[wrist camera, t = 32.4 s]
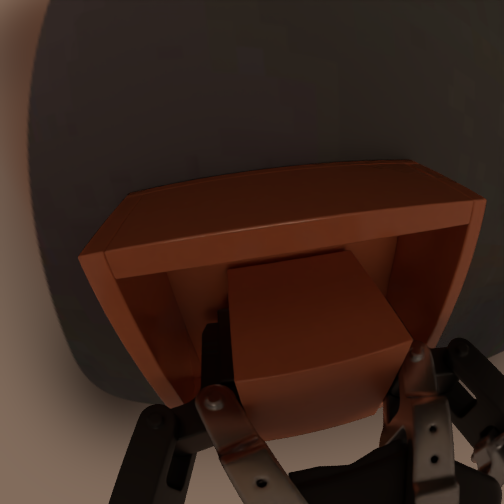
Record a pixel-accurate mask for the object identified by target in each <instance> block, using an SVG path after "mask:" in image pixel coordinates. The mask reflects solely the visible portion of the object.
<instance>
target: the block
mask: <svg viewBox="0 0 504 504" xmlns="http://www.w3.org/2000/svg"><path fill="white" fill-rule="evenodd" d="M227 287H228V303H229V318H230V332H231V345H232V358H233V370H234V381H235V385H236V388H237V391H238V394H239V397H240V400H241V403H242V406H243V409H244V412H245V413H246V415H247V417H248V418H249V420H250V422H251V423H252V425H253V427H254V428H255V430H256V431H257V433H258V435H259V436H260V437H261V438H262V439H263V440H264V441H270V440H275V439H282V438H288V437H293V436H298V435H303V434H307V433H311V432H316V431H320V430H324V429H328V428H332V427H336V426H339V425H343V424H346V423H349V422H352V421H356V420H359V419H362V418H365V417H368V416H371V415H374V414H375V413H376V411H377V409H378V408H379V406H380V405H381V403H382V401H383V399H384V398H385V396H386V394H387V392H388V390H389V389H390V387H391V385H392V383H393V381H394V379H395V377H396V375H397V373H398V371H399V369H400V367H401V365H402V363H403V361H404V359H405V357H406V355H407V353H408V351H409V348H410V346H411V344H412V342H413V339H412V337H411V336H410V334H409V333H408V331H407V330H406V328H405V326H404V325H403V323H402V322H401V320H400V319H399V317H398V316H397V314H396V313H395V311H394V310H393V309H392V307H391V306H390V304H389V303H388V301H387V300H386V298H385V297H384V295H383V294H382V293H381V291H380V290H379V288H378V287H377V286H376V284H375V283H374V281H373V280H372V279H371V277H370V276H369V275H368V273H367V272H366V270H365V269H364V268H363V266H362V265H361V264H360V262H359V261H358V260H357V258H356V257H355V256H354V255H353V253H352V252H351V251H350V250H349V251H343V252H337V253H331V254H324V255H318V256H312V257H306V258H300V259H294V260H287V261H281V262H275V263H268V264H262V265H255V266H249V267H242V268H236V269H229V270H227Z"/></svg>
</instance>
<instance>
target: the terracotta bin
mask: <svg viewBox="0 0 504 504" xmlns="http://www.w3.org/2000/svg"><path fill="white" fill-rule="evenodd" d="M486 202H487V201H486V199H485V198H483V197H482V196H480V195H478V194H477V193H475V192H473V191H472V190H470V189H468V188H466V187H464V186H463V185H461V184H459V183H457V182H455V181H453V180H451V179H449V178H448V177H446V176H444V175H442V174H440V173H438V172H436V171H433V170H431V169H429V168H427V167H425V166H423V165H421V164H418V163H417V162H414V161H412V160H373V161H350V162H334V163H320V164H308V165H298V166H288V167H278V168H270V169H262V170H254V171H246V172H239V173H233V174H226V175H220V176H213V177H207V178H202V179H196V180H190V181H185V182H180V183H174V184H169V185H164V186H160V187H155V188H150V189H146V190H141V191H137V192H132V193H129V194H128V195H127V196H126V197H125V199H123V201H122V202H121V203H120V204H119V205H118V206H117V208H116V209H115V210H114V211H113V212H112V213H111V215H110V216H109V217H108V218H107V219H106V221H105V222H104V223H103V224H102V226H101V227H100V228H99V229H98V231H97V232H96V233H95V234H94V236H93V237H92V238H91V240H90V241H89V242H88V244H87V245H86V246H85V248H84V249H83V250H82V252H81V253H80V254H79V256H78V259H79V262H80V264H81V266H82V268H83V270H84V273H85V275H86V277H87V279H88V281H89V283H90V285H91V287H92V289H93V291H94V293H95V295H96V297H97V299H98V301H99V303H100V305H101V307H102V308H103V310H104V312H105V314H106V316H107V317H108V319H109V321H110V323H111V325H112V326H113V328H114V330H115V331H116V333H117V335H118V336H119V338H120V340H121V341H122V343H123V345H124V346H125V348H126V349H127V351H128V353H129V354H130V356H131V357H132V359H133V360H134V362H135V363H136V365H137V366H138V368H139V369H140V371H141V372H142V374H143V375H144V376H145V378H146V379H147V381H148V382H149V383H150V385H151V386H152V388H153V389H154V390H155V392H156V393H157V394H158V396H159V397H160V398H161V400H162V401H163V402H164V403H165V405H166V406H167V407H169V408H170V409H171V408H174V407H177V406H180V405H183V404H186V403H188V402H190V401H191V400H193V399H194V398H195V397H196V396H197V394H198V393H199V391H200V388H201V354H202V352H201V350H202V332H203V330H204V328H205V327H206V325H207V324H208V323H216V322H218V315H217V311H218V310H220V309H227V308H229V303H228V287H227V270H229V269H236V268H242V267H249V266H255V265H262V264H268V263H275V262H281V261H287V260H294V259H300V258H306V257H312V256H318V255H324V254H331V253H337V252H343V251H349V250H350V251H351V252H352V253H353V255H354V256H355V257H356V258H357V260H358V261H359V262H360V264H361V265H362V266H363V268H364V269H365V270H366V272H367V273H368V275H369V276H370V277H371V279H372V280H373V281H374V283H375V284H376V286H377V287H378V288H379V290H380V291H381V293H382V294H383V295H384V297H385V298H386V299H387V300H388V301H389V303H390V304H391V306H392V307H393V309H394V310H395V311H396V313H397V316H399V317H400V319H401V320H402V322H403V323H404V325H405V326H406V328H407V329H408V331H409V332H410V334H411V336H412V337H413V339H414V340H417V341H421V342H423V343H425V344H426V345H427V346H428V347H429V348H435V347H436V345H437V343H438V341H439V339H440V337H441V335H442V333H443V331H444V329H445V326H446V324H447V322H448V320H449V318H450V316H451V313H452V311H453V309H454V306H455V304H456V302H457V299H458V297H459V294H460V292H461V289H462V286H463V284H464V281H465V278H466V275H467V272H468V270H469V267H470V264H471V260H472V257H473V254H474V251H475V247H476V244H477V240H478V237H479V233H480V229H481V225H482V221H483V216H484V212H485V207H486ZM381 407H383V401H382V403H381V405H380V406H379V408H381Z"/></svg>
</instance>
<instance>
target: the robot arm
mask: <svg viewBox="0 0 504 504" xmlns="http://www.w3.org/2000/svg"><path fill="white" fill-rule="evenodd" d="M386 300H387V299H386ZM387 301H388V300H387ZM388 303H389V301H388ZM389 304H390V303H389ZM390 306H391V304H390ZM391 307H392V306H391ZM392 309H393V307H392ZM393 310H394V309H393ZM394 311H395V310H394ZM395 313H396V311H395ZM396 314H397V313H396ZM217 315H218V322H216V323H208V324H207V325H206V327H205V328H204V330H203V332H202V350H201V352H202V354H201V388H200V391H199V393H198V394H197V396H196V397H195V398H194V399H193V400H191V401H190V402H188V403H186V404H183V405H180V406H177V407H174V408H171V409H170V408H169V407H167V406H165V405H161V404H155V405H151V406H149V407H147V408H146V409H144V410H143V411H142V413H141V414H140V417H139V419H138V421H137V424H136V427H135V430H134V432H133V435H132V437H131V440H130V443H129V446H128V448H127V451H126V454H125V457H124V460H123V463H122V465H121V468H120V471H119V474H118V477H117V480H116V483H115V486H114V489H113V492H112V495H111V498H110V501H109V504H184V502H185V498H186V494H187V490H188V486H189V481H190V478H191V474H192V470H193V466H194V462H195V458H196V454H197V452H198V451H201V450H204V449H207V448H210V447H212V446H214V447H215V449H216V451H217V453H218V456H219V460H220V462H221V464H222V466H223V468H224V470H225V472H226V473H227V475H228V477H229V479H230V481H231V483H232V484H233V486H234V488H235V490H236V491H237V493H238V495H239V497H240V498H241V500H242V502H243V503H244V504H501V500H502V490H501V487H502V485H503V484H504V375H503V374H502V373H501V372H500V371H499V370H498V369H497V368H496V367H495V366H494V365H493V364H492V363H491V362H490V361H489V360H488V359H487V358H486V357H485V356H484V355H483V354H482V353H481V352H480V351H479V350H478V349H477V348H476V347H475V346H473V345H472V344H471V343H470V342H469V341H468V340H466V339H463V338H455V339H453V340H451V342H450V343H449V345H448V347H444V348H429V347H428V346H427V345H426V344H425V343H423V342H421V341H417V340H414V339H413V337H412V336H411V334H410V332H409V331H408V329H407V328H406V326H405V325H404V323H403V322H402V320H401V319H400V317H399V316H398V317H399V319H400V320H401V322H402V323H403V325H404V326H405V328H406V330H407V331H408V333H409V334H410V336H411V337H412V339H413V342H412V344H411V346H410V348H409V351H408V353H407V355H406V357H405V359H404V361H403V363H402V365H401V367H400V369H399V371H398V373H397V375H396V377H395V379H394V381H393V383H392V385H391V387H390V389H389V390H388V392H387V394H386V396H385V398H384V399H383V430H382V433H381V437H380V442H379V448H377V449H375V450H373V451H372V452H370V453H369V454H367V455H365V456H364V457H362V458H361V459H359V460H357V461H356V462H354V463H352V464H350V465H340V466H319V467H314V468H310V469H305V470H300V471H295V472H290V473H289V476H288V475H287V474H286V472H285V471H284V469H283V468H282V466H281V465H280V464H279V462H278V461H277V459H276V458H275V456H274V455H273V453H272V452H271V450H270V449H269V447H268V446H267V444H266V443H265V441H264V440H263V439H262V438H261V437H260V436H259V435H258V433H257V431H256V430H255V428H254V427H253V425H252V423H251V422H250V420H249V418H248V417H247V415H246V413H245V412H244V409H243V406H242V403H241V400H240V397H239V394H238V391H237V388H236V385H235V381H234V370H233V358H232V345H231V332H230V318H229V308H227V309H220V310H218V311H217ZM459 379H460V380H461V381H462V382H463V383H464V384H465V385H466V386H467V387H468V389H469V390H470V391H471V392H472V393H473V394H474V395H475V397H476V399H474V398H473V397H472V396H471V395H470V394H469V393H468V392H467V390H466V389H465V388H464V387H463V386H462V385H461V384H460V383H459V382H458V381H459ZM451 421H452V422H451ZM452 423H453V424H454V425H455V426H456V427H457V429H458V430H459V431H460V432H461V433H462V435H463V436H464V437H465V438H466V439H467V441H468V442H469V443H470V444H471V446H472V447H473V448H474V452H473V454H472V456H471V461H472V462H474V463H477V465H478V470H475V469H473V468H471V467H468V466H466V465H464V464H462V463H459V462H457V461H455V460H454V443H453V432H452Z"/></svg>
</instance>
